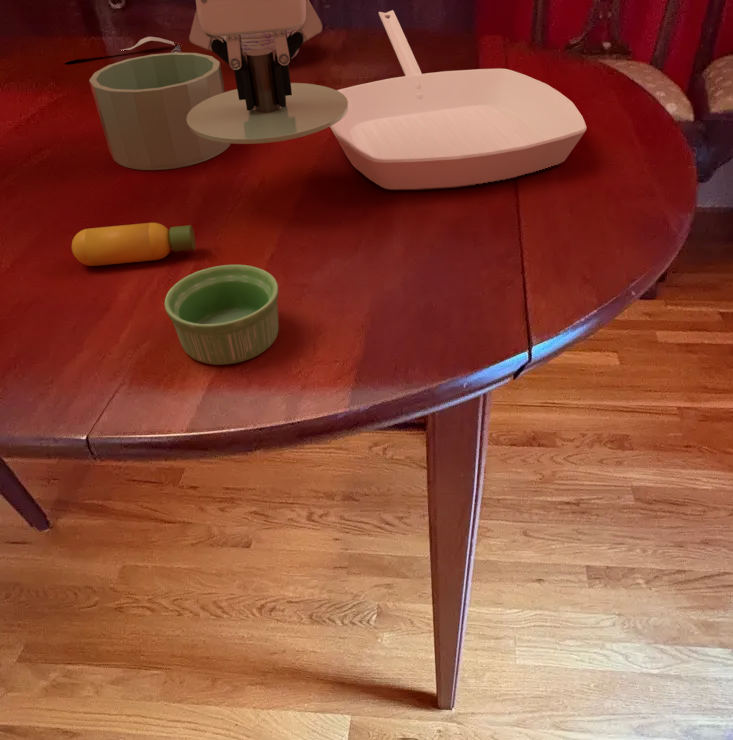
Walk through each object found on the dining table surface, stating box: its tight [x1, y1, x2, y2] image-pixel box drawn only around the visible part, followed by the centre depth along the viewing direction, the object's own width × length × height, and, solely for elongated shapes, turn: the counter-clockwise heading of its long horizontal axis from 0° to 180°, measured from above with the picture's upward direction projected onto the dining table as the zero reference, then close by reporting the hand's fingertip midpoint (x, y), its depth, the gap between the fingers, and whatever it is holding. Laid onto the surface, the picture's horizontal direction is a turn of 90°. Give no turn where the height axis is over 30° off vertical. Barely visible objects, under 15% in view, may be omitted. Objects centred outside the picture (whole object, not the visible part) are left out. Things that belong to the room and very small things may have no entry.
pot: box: [88, 52, 232, 171], centre depth 92 cm, size 16×16×10 cm
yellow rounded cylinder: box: [71, 222, 197, 267], centre depth 70 cm, size 12×4×4 cm, turn 95°
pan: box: [329, 9, 588, 191], centre depth 92 cm, size 29×45×9 cm, turn 13°
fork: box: [120, 36, 175, 51], centre depth 132 cm, size 3×21×3 cm, turn 108°
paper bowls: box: [219, 23, 304, 61], centre depth 122 cm, size 15×15×8 cm
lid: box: [186, 49, 348, 145], centre depth 73 cm, size 17×17×7 cm
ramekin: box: [164, 264, 280, 366], centre depth 59 cm, size 9×9×4 cm
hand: (266, 102), depth 74 cm, fingers closed on lid, 2 cm apart
